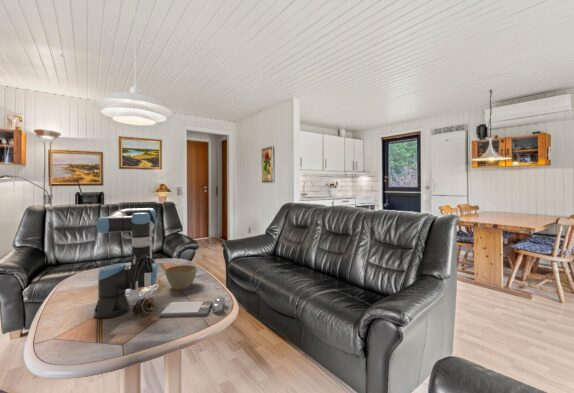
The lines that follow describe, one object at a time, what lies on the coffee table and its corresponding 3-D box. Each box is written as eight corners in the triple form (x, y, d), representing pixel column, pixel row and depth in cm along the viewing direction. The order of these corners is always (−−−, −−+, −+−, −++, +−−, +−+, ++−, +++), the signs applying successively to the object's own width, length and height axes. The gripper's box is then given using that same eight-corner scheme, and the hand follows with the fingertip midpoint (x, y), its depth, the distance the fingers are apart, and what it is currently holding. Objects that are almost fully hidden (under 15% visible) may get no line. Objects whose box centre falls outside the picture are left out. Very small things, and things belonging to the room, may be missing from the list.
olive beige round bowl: (178, 295, 159) (178, 274, 159) (159, 289, 168) (159, 269, 168) (202, 286, 174) (202, 267, 174) (184, 281, 184) (184, 263, 184)
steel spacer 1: (214, 308, 141) (214, 300, 141) (215, 304, 146) (216, 297, 146) (224, 308, 142) (224, 300, 142) (225, 304, 147) (225, 296, 146)
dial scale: (159, 317, 131) (159, 313, 131) (170, 304, 146) (170, 301, 146) (206, 315, 133) (206, 312, 133) (212, 303, 148) (212, 300, 148)
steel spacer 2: (211, 314, 135) (211, 306, 135) (213, 309, 140) (213, 302, 140) (222, 313, 135) (222, 305, 135) (223, 309, 140) (223, 301, 140)
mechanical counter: (148, 323, 125) (147, 301, 125) (123, 320, 128) (123, 299, 128) (158, 316, 132) (158, 295, 132) (135, 313, 135) (135, 293, 135)
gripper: (136, 251, 117) (137, 300, 117) (159, 241, 142) (159, 282, 142) (118, 251, 117) (118, 301, 117) (144, 241, 142) (144, 282, 142)
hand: (141, 291), depth 130 cm, fingers open, 13 cm apart
